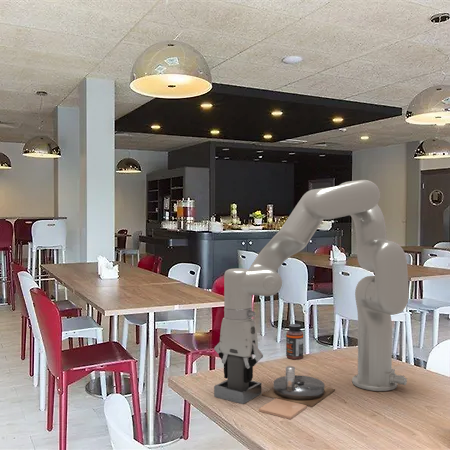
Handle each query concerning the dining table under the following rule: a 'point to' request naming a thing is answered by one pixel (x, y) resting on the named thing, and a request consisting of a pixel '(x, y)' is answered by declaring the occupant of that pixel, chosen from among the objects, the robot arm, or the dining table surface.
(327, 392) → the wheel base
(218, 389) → the collar
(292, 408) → the pad
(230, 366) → the bottle
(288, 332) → the supplement bottle
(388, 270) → the robot arm
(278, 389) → the handwheel
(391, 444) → the dining table surface
